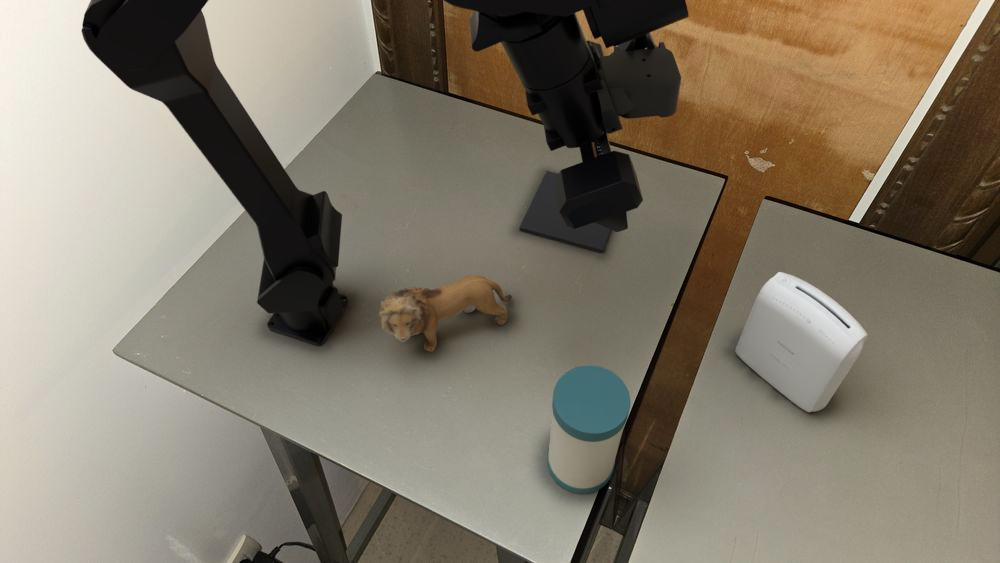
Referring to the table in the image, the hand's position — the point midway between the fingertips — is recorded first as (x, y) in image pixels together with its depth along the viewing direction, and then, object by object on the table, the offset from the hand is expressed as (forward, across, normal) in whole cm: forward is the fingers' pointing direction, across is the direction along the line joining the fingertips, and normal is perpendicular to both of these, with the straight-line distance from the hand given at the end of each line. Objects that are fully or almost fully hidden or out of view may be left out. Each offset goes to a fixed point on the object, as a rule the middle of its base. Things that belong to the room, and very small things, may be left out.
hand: (613, 191), depth 69 cm
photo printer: (+22, -11, -9) cm, 26 cm away
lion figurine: (+9, -4, +21) cm, 23 cm away
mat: (+14, +13, +7) cm, 20 cm away
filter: (+13, -19, +10) cm, 25 cm away
